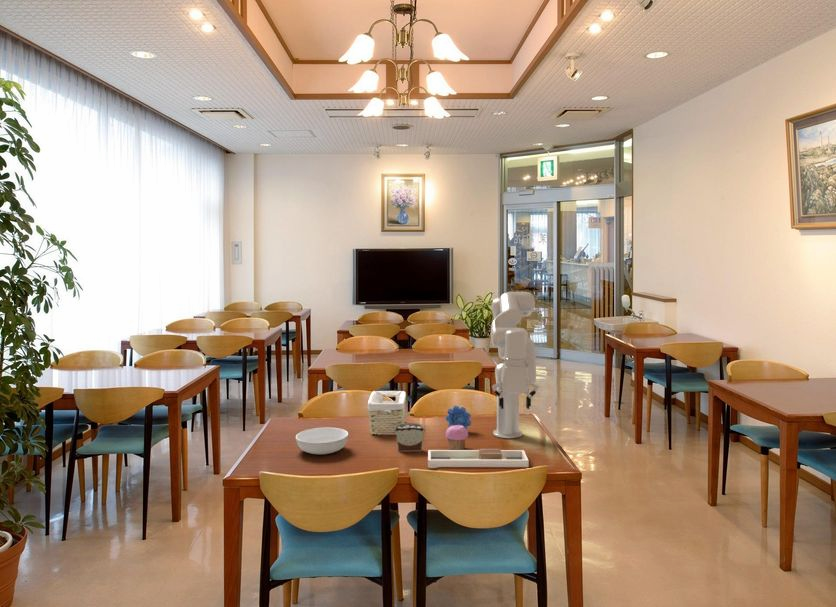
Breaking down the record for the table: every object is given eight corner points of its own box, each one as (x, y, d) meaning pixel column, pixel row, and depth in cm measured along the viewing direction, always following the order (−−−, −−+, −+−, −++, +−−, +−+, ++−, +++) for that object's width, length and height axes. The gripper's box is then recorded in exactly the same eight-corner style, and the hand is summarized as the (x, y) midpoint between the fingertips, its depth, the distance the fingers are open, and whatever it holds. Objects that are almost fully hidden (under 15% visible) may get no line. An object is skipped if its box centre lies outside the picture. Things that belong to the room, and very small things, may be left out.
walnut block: (479, 458, 246) (479, 448, 245) (500, 458, 245) (500, 448, 245) (480, 464, 240) (480, 453, 239) (501, 464, 239) (501, 453, 239)
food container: (424, 446, 263) (424, 422, 263) (425, 451, 257) (425, 426, 256) (394, 446, 263) (394, 422, 262) (394, 451, 257) (394, 427, 256)
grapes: (448, 435, 278) (448, 408, 277) (444, 431, 285) (444, 404, 284) (474, 433, 280) (474, 406, 279) (469, 429, 287) (469, 403, 286)
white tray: (428, 457, 249) (428, 450, 249) (523, 457, 248) (523, 450, 248) (428, 468, 237) (427, 460, 237) (528, 468, 236) (528, 460, 236)
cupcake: (471, 448, 260) (471, 424, 259) (461, 454, 253) (461, 429, 252) (452, 445, 265) (451, 421, 264) (441, 450, 257) (441, 426, 256)
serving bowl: (291, 446, 264) (291, 430, 263) (341, 441, 271) (341, 425, 271) (301, 462, 244) (300, 444, 244) (354, 455, 252) (354, 438, 251)
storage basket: (404, 436, 278) (403, 402, 277) (366, 436, 279) (366, 402, 277) (406, 421, 302) (406, 390, 301) (372, 421, 302) (372, 390, 301)
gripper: (536, 361, 244) (536, 406, 245) (491, 361, 244) (490, 406, 245) (539, 364, 236) (539, 410, 237) (492, 364, 237) (492, 410, 238)
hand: (514, 408), depth 241 cm, fingers open, 9 cm apart
